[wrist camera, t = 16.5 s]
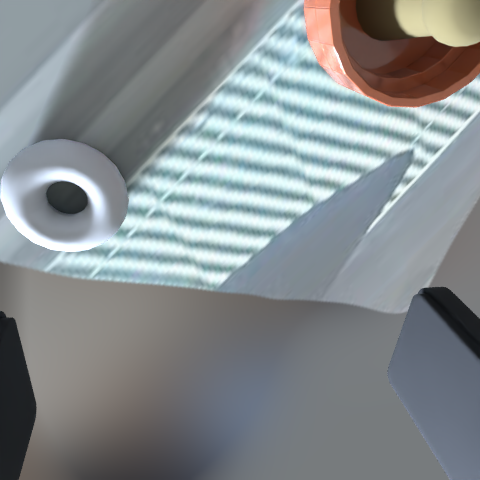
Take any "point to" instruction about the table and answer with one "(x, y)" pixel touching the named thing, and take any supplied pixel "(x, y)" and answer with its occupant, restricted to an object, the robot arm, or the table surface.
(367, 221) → the table surface
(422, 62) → the basin
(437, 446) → the robot arm
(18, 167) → the donut
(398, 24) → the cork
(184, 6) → the table surface
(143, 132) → the table surface
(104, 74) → the table surface
